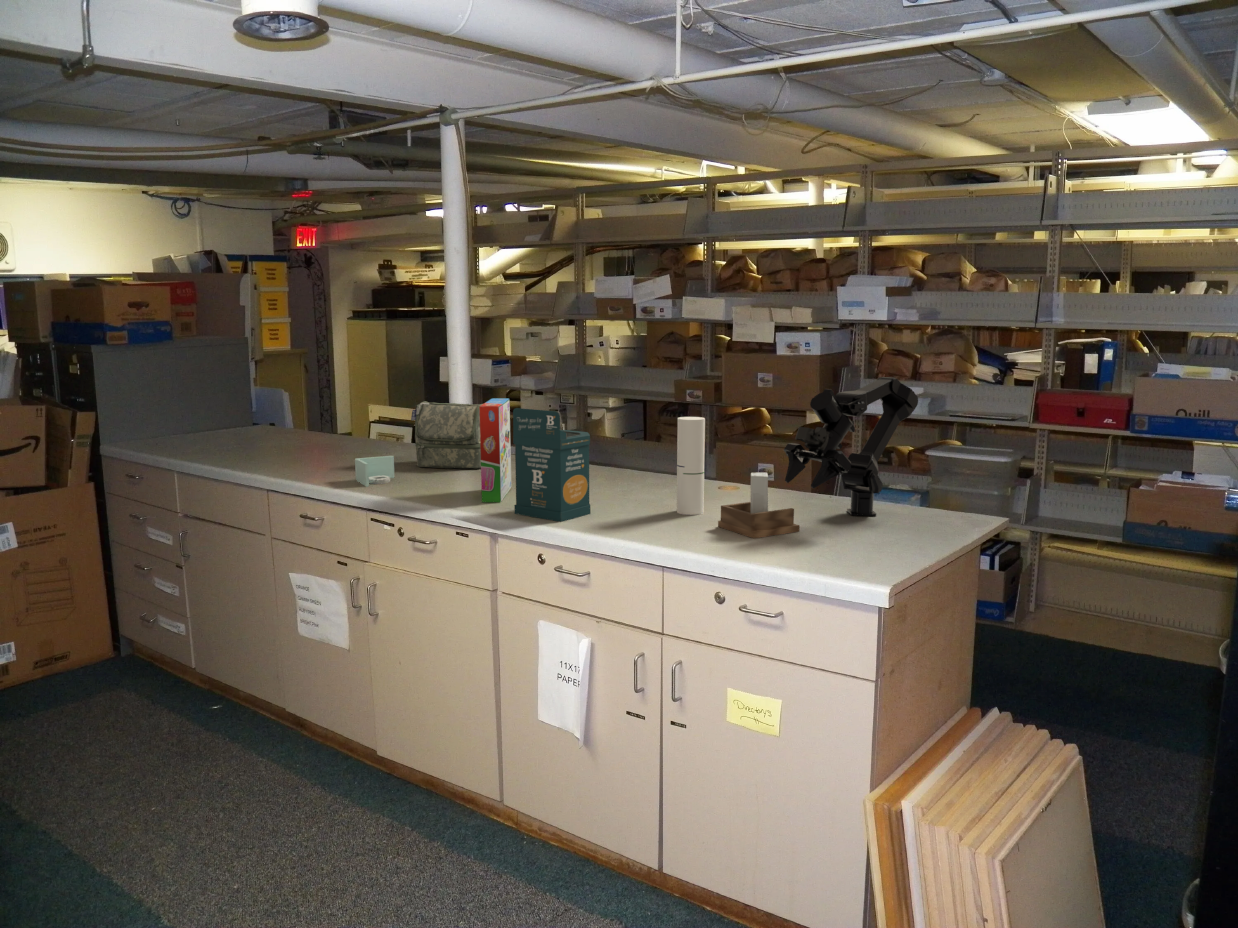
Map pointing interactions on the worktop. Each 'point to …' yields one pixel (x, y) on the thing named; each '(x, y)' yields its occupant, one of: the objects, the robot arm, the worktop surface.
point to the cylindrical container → (690, 465)
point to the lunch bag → (447, 435)
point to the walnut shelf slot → (757, 521)
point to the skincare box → (759, 492)
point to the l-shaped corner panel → (374, 470)
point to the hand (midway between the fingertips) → (799, 484)
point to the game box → (495, 449)
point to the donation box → (550, 467)
